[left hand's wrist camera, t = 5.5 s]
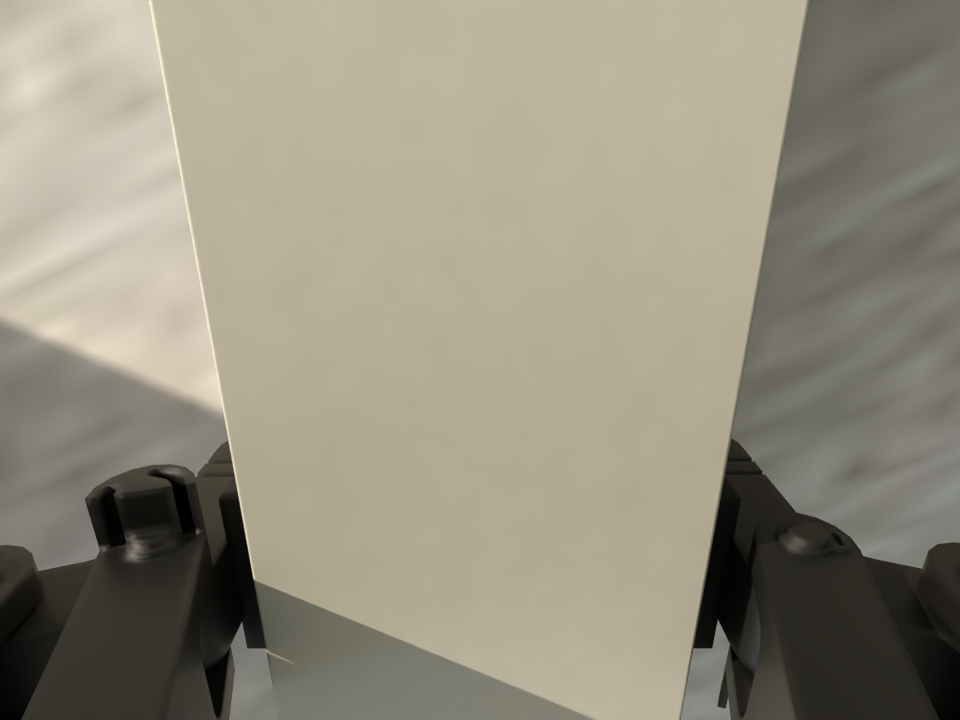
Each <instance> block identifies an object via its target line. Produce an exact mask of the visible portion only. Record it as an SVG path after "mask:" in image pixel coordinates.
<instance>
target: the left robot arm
mask: <svg viewBox="0 0 960 720" xmlns="http://www.w3.org/2000/svg"><path fill="white" fill-rule="evenodd" d="M85 501H86V504H87V508H88V511H89V515H90V518H91V521H92V525H93V528H94V531H95V535H96V538H97V542H98V545H99V548H100V552H99V554H98V556H97V558H96V559H94V560H90V561H86V562H82V563H77V564H72V565H67V566H62V567H57V568H52V569H48V570H43V571H38V570H37V567H36V564H35V561H34V558H33V555H32V553H30V552H29V551H28V550H26V549H25V548H23V547H19V546H10V545H3V546H0V720H229V716H230V707H231V698H232V689H233V681H234V672H235V668H234V662H233V656H232V651H231V647H230V645H231V643H232V641H233V639H234V637H235V635H236V633H237V631H238V628H239V626H240V624H241V622H242V623H243V628H244V633H245V638H246V643H247V648H266V645H265V640H264V634H263V629H262V623H261V618H260V612H259V606H258V601H257V595H256V590H255V584H254V579H253V573H252V568H251V562H250V557H249V551H248V546H247V540H246V535H245V529H244V523H243V518H242V512H241V507H240V501H239V496H238V490H237V485H236V479H235V474H234V468H233V463H232V457H231V451H230V446H229V441H227V442H225V443H224V444H222V445H221V446H220V447H219V448H218V450H217V451H216V452H215V453H214V454H213V456H212V457H211V458H210V459H209V461H208V464H205V465H204V467H203V468H202V469H201V470H200V471H199V473H198V477H195V475H194V473H193V472H191V471H190V470H189V469H187V468H186V467H182V466H177V465H171V464H169V465H151V466H147V467H142V468H138V469H133V470H130V471H127V472H125V473H122V474H120V475H117V476H115V477H112V478H110V479H109V480H107V481H105V482H104V483H102V484H101V485H99V486H97V487H96V488H95V489H94V490H93V491H92V492H91V493H90V494H89V495H88V496H87V497H86V498H85ZM718 620H719V622H720V624H721V626H722V628H723V630H724V632H725V634H726V637H727V639H728V641H729V643H730V647H729V651H728V656H727V661H726V666H725V670H724V675H723V680H722V685H721V689H720V694H719V700H718V707H722V708H726V704H727V699H728V697H729V706H730V714H731V720H960V543H955V542H953V543H945V544H937V545H936V546H935V547H933V548H932V549H930V550H929V551H928V554H927V557H926V560H925V562H924V565H923V568H922V569H920V568H915V567H911V566H906V565H901V564H896V563H891V562H886V561H881V560H876V559H872V558H868V557H864V556H863V555H862V553H861V551H860V549H859V548H858V546H857V545H856V544H855V542H854V541H853V540H852V539H851V537H849V536H848V535H847V534H845V533H844V532H842V531H841V530H840V529H838V528H837V527H835V526H833V525H831V524H829V523H827V522H825V521H822V520H820V519H818V518H816V517H812V516H808V515H804V514H800V513H796V512H795V510H794V509H793V508H792V507H791V506H790V504H789V503H788V502H787V501H786V500H785V498H784V497H783V496H782V495H781V494H780V492H779V491H778V490H777V489H776V487H775V486H774V485H773V484H772V483H771V481H770V480H769V479H768V478H767V477H766V475H762V471H761V469H760V468H759V467H758V466H757V464H756V463H755V462H752V458H751V457H750V456H749V455H748V454H747V452H746V451H745V450H744V449H743V448H742V446H741V445H740V444H739V443H738V442H736V441H735V440H733V439H731V442H730V447H729V453H728V458H727V464H726V469H725V475H724V481H723V486H722V492H721V497H720V503H719V508H718V514H717V519H716V525H715V531H714V536H713V542H712V547H711V553H710V558H709V564H708V569H707V575H706V581H705V586H704V592H703V597H702V603H701V608H700V614H699V619H698V625H697V631H696V636H695V642H694V647H693V648H712V646H713V641H714V636H715V631H716V626H717V621H718Z"/></svg>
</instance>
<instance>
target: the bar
mask: <svg viewBox="0 0 960 720" xmlns="http://www.w3.org/2000/svg"><path fill="white" fill-rule="evenodd" d="M149 3H150V9H151V14H152V20H153V25H154V31H155V36H156V42H157V47H158V53H159V58H160V64H161V70H162V75H163V81H164V86H165V92H166V97H167V103H168V108H169V114H170V119H171V125H172V130H173V136H174V142H175V147H176V153H177V158H178V164H179V169H180V175H181V180H182V186H183V191H184V197H185V202H186V208H187V213H188V219H189V225H190V230H191V236H192V241H193V247H194V252H195V258H196V263H197V269H198V274H199V280H200V285H201V291H202V296H203V302H204V308H205V313H206V319H207V324H208V330H209V335H210V341H211V346H212V352H213V357H214V363H215V368H216V374H217V380H218V385H219V391H220V396H221V402H222V407H223V413H224V418H225V424H226V429H227V435H228V440H229V446H230V451H231V457H232V463H233V468H234V474H235V479H236V485H237V490H238V496H239V501H240V507H241V512H242V518H243V523H244V529H245V535H246V540H247V546H248V551H249V557H250V562H251V568H252V573H253V579H254V584H255V590H256V595H257V601H258V606H259V612H260V618H261V623H262V629H263V634H264V640H265V645H266V651H267V656H268V662H269V667H270V673H271V678H272V684H273V690H274V695H275V701H276V706H277V712H278V717H279V720H680V719H681V714H682V708H683V703H684V697H685V692H686V686H687V681H688V675H689V669H690V664H691V658H692V653H693V647H694V642H695V636H696V631H697V625H698V619H699V614H700V608H701V603H702V597H703V592H704V586H705V581H706V575H707V569H708V564H709V558H710V553H711V547H712V542H713V536H714V531H715V525H716V519H717V514H718V508H719V503H720V497H721V492H722V486H723V481H724V475H725V469H726V464H727V458H728V453H729V447H730V442H731V436H732V431H733V425H734V420H735V414H736V408H737V403H738V397H739V392H740V386H741V381H742V375H743V370H744V364H745V358H746V353H747V347H748V342H749V336H750V331H751V325H752V320H753V314H754V308H755V303H756V297H757V292H758V286H759V281H760V275H761V270H762V264H763V258H764V253H765V247H766V242H767V236H768V231H769V225H770V220H771V214H772V208H773V203H774V197H775V192H776V186H777V181H778V175H779V170H780V164H781V158H782V153H783V147H784V142H785V136H786V131H787V125H788V120H789V114H790V108H791V103H792V97H793V92H794V86H795V81H796V75H797V70H798V64H799V59H800V53H801V47H802V42H803V36H804V31H805V25H806V20H807V14H808V9H809V3H810V0H149Z"/></svg>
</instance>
